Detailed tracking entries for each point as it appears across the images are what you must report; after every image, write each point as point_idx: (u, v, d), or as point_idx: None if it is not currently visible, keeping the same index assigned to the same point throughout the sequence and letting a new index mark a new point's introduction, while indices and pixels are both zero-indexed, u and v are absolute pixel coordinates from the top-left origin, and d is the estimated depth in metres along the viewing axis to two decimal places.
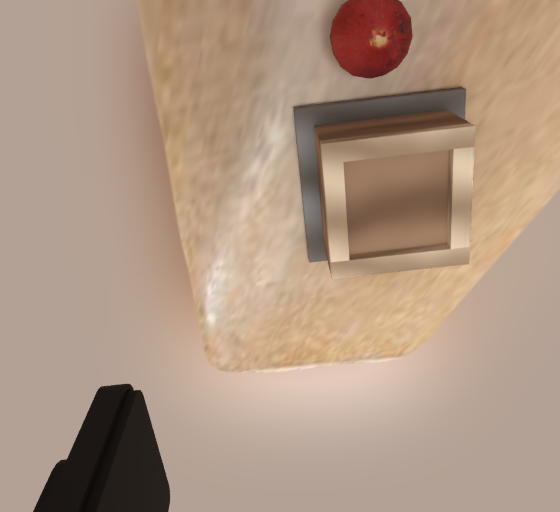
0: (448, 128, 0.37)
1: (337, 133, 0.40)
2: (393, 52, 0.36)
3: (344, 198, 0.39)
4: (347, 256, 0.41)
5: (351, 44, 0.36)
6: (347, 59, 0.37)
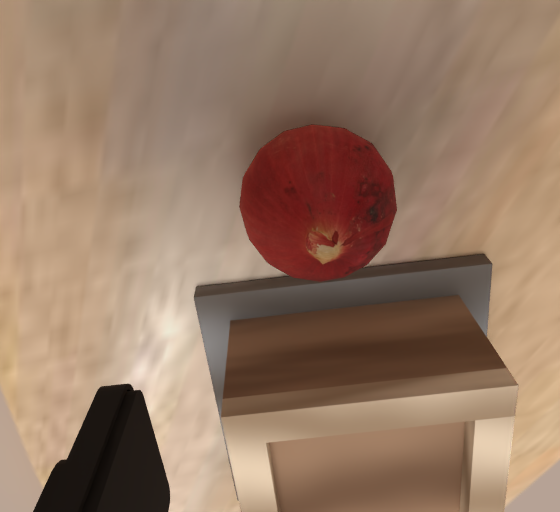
0: (466, 387, 0.19)
1: (261, 366, 0.22)
2: (358, 258, 0.18)
3: (272, 493, 0.21)
4: None
5: (272, 241, 0.18)
6: (269, 258, 0.19)
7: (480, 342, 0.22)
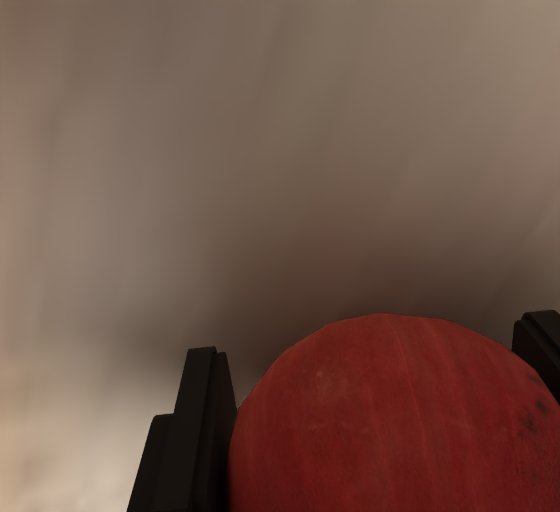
0: None
1: None
2: None
3: None
4: None
5: None
6: None
7: None
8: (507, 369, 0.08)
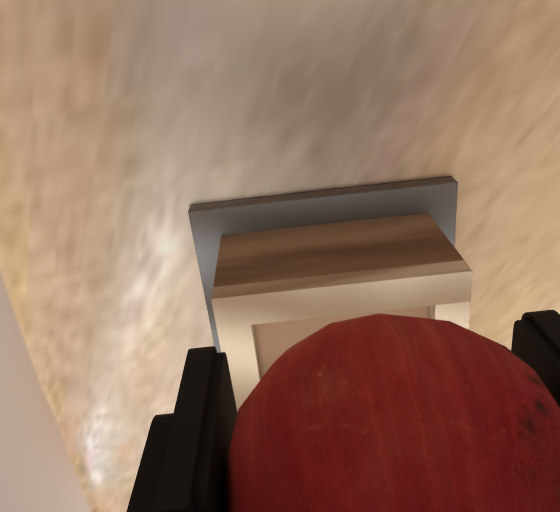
0: (426, 273, 0.22)
1: (247, 265, 0.24)
2: None
3: (257, 375, 0.24)
4: None
5: None
6: None
7: (443, 243, 0.24)
8: (506, 369, 0.08)
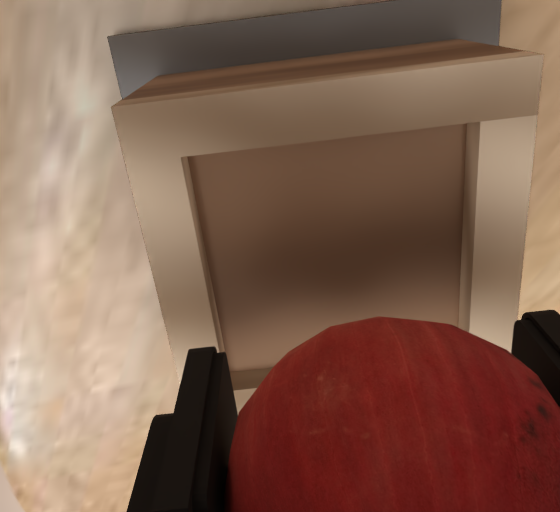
0: (467, 63, 0.13)
1: (183, 85, 0.16)
2: None
3: (196, 251, 0.15)
4: None
5: None
6: None
7: (487, 47, 0.16)
8: (508, 373, 0.08)
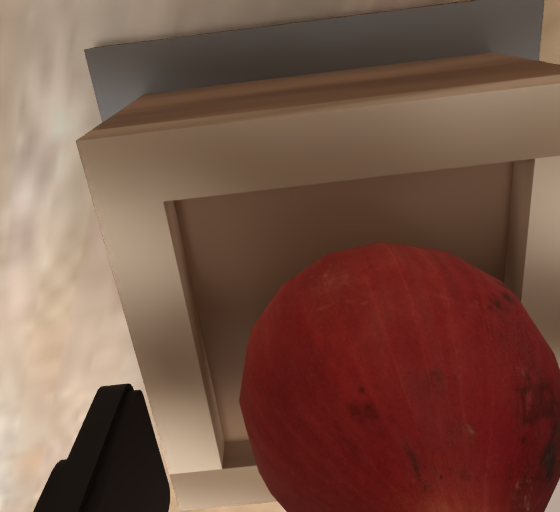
0: (520, 86, 0.11)
1: (170, 109, 0.13)
2: None
3: (183, 312, 0.13)
4: (214, 460, 0.15)
5: None
6: None
7: (535, 65, 0.13)
8: (479, 273, 0.09)
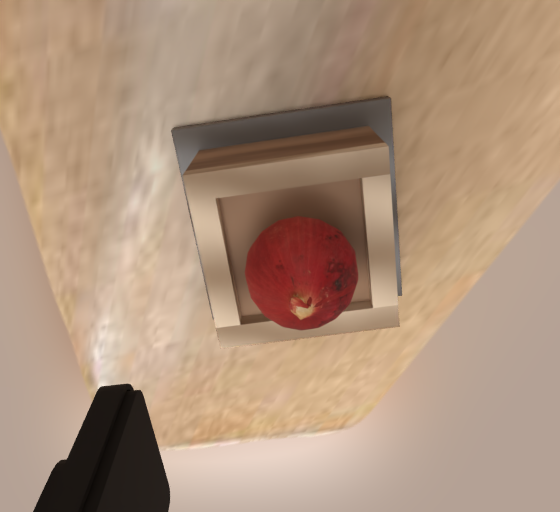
0: (352, 150, 0.28)
1: (215, 160, 0.30)
2: (327, 315, 0.25)
3: (223, 246, 0.30)
4: (237, 320, 0.31)
5: (267, 301, 0.25)
6: (264, 312, 0.26)
7: (372, 137, 0.30)
8: (329, 228, 0.26)
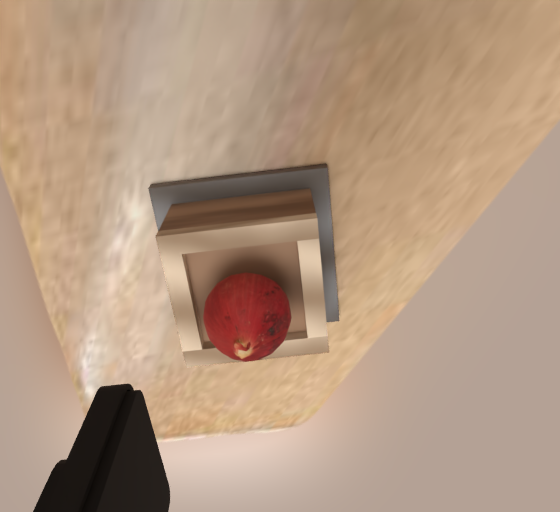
0: (289, 220, 0.35)
1: (183, 219, 0.38)
2: (263, 353, 0.33)
3: (188, 289, 0.37)
4: (199, 345, 0.39)
5: (218, 341, 0.33)
6: (217, 348, 0.34)
7: (308, 205, 0.38)
8: (268, 284, 0.34)
